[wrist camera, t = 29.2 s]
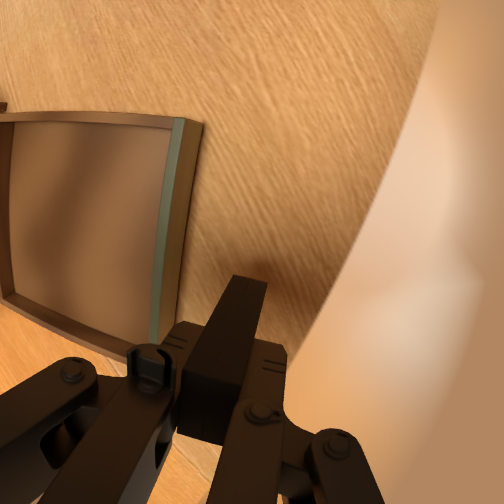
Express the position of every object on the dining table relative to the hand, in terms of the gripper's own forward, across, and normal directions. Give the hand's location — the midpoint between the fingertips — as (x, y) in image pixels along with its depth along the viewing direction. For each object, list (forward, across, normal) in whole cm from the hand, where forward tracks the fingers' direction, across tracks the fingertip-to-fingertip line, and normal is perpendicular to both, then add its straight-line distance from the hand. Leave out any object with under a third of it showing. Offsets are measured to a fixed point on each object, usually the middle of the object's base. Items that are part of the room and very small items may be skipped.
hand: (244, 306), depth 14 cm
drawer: (+4, -13, 0) cm, 13 cm away
